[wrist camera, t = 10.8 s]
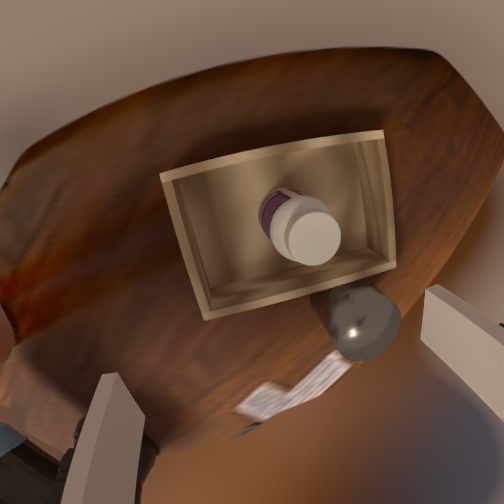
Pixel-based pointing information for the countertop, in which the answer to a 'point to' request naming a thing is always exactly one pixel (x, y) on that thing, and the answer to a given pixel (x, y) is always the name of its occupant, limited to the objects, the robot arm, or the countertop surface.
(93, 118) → the countertop surface
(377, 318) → the tin can
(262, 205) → the pill bottle
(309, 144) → the caddy
